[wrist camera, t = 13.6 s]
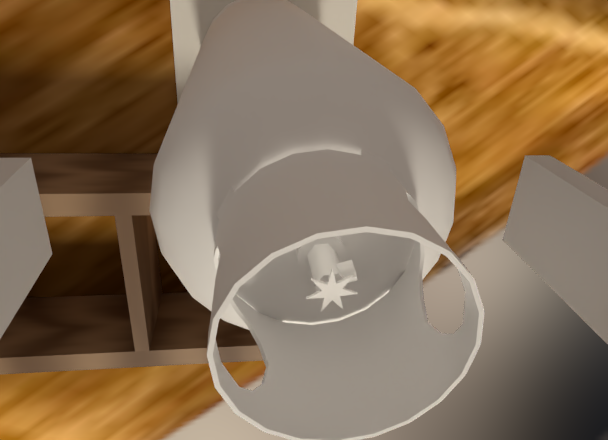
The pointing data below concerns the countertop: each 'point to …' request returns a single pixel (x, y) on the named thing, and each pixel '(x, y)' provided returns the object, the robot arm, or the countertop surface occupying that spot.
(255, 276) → the bottle
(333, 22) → the coaster
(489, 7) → the countertop surface
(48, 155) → the carrier
